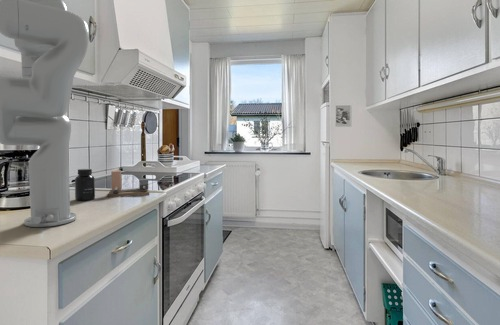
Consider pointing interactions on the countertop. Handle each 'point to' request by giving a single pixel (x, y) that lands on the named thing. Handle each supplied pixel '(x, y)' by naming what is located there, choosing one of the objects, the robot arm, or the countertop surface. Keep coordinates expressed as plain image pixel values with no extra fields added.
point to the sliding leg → (116, 180)
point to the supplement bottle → (84, 185)
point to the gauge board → (132, 190)
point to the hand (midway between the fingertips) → (37, 125)
